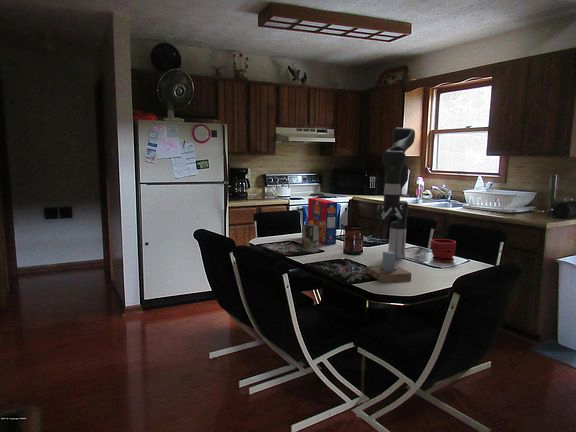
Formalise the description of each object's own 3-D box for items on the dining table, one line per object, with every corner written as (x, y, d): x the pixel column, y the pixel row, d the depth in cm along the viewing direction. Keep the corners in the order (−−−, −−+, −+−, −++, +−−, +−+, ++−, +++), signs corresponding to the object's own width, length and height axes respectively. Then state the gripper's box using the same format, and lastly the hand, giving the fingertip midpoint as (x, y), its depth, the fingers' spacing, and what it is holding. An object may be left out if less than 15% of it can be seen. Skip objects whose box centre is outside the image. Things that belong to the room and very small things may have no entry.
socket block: (365, 272, 211) (366, 266, 211) (394, 270, 215) (394, 264, 215) (380, 282, 196) (381, 275, 195) (411, 280, 200) (411, 273, 200)
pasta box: (307, 236, 299) (308, 198, 295) (317, 236, 302) (318, 197, 298) (325, 244, 273) (326, 202, 269) (335, 244, 276) (337, 202, 272)
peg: (381, 275, 207) (382, 251, 205) (389, 274, 208) (391, 251, 207) (386, 277, 203) (387, 253, 201) (394, 277, 204) (395, 253, 202)
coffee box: (319, 251, 256) (320, 225, 253) (312, 252, 251) (313, 226, 249) (307, 248, 262) (308, 223, 259) (301, 250, 257) (301, 224, 255)
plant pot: (457, 260, 238) (458, 240, 236) (451, 265, 227) (453, 244, 226) (433, 257, 245) (435, 237, 244) (427, 261, 235) (428, 240, 233)
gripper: (401, 192, 205) (399, 224, 207) (375, 192, 201) (373, 225, 204) (409, 193, 198) (407, 227, 200) (382, 194, 194) (380, 228, 196)
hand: (390, 226), depth 202 cm, fingers open, 8 cm apart
